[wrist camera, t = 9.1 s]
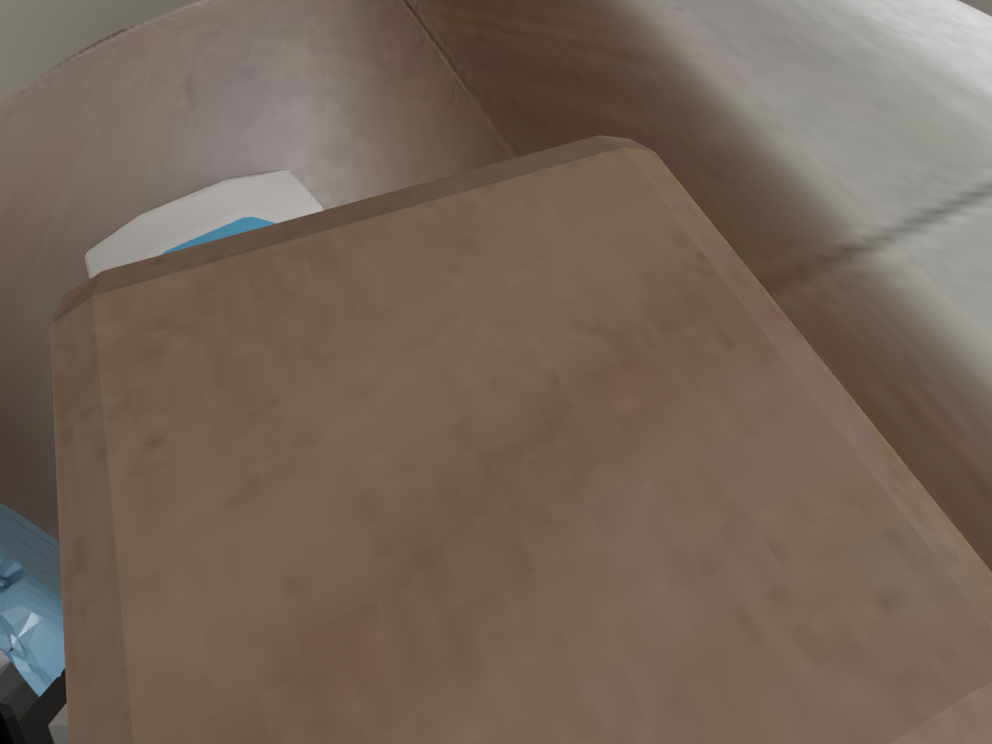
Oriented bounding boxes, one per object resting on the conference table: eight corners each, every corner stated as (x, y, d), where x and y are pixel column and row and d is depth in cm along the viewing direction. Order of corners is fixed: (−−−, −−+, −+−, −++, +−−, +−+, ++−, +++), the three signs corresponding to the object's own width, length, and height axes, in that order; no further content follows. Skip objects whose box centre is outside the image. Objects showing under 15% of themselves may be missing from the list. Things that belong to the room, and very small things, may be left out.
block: (341, 541, 25) (7, 262, 7) (535, 462, 27) (643, 96, 9) (410, 787, 21) (13, 1565, 3) (634, 671, 23) (1177, 727, 5)
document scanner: (301, 199, 61) (283, 154, 55) (432, 382, 50) (426, 349, 45) (111, 283, 55) (69, 241, 49) (216, 509, 44) (178, 490, 39)
